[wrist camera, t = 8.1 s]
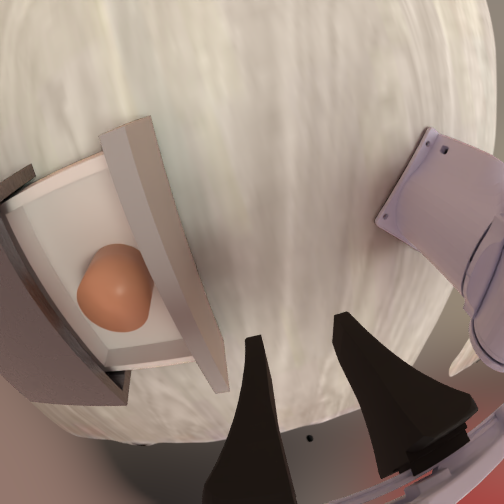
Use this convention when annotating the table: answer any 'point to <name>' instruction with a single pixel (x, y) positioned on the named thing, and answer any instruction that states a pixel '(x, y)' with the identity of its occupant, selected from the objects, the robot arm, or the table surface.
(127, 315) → the orange rounded part
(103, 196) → the tray
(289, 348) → the table surface
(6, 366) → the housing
